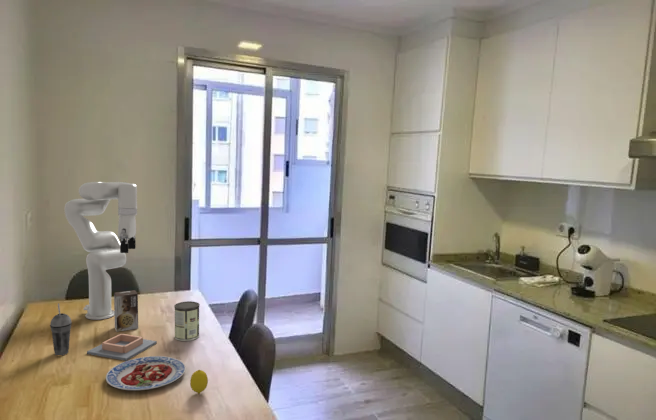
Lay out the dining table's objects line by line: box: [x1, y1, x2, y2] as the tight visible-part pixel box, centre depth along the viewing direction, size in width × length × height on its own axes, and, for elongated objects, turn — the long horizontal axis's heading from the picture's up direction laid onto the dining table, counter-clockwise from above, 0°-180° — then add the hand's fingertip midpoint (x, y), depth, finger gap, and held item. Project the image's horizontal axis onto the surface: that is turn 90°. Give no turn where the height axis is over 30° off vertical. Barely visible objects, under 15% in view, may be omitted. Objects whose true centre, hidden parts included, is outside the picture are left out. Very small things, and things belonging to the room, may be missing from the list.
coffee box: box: [113, 289, 139, 333], centre depth 206 cm, size 9×6×16 cm
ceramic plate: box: [105, 355, 186, 391], centre depth 162 cm, size 26×26×3 cm
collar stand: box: [86, 333, 157, 362], centre depth 184 cm, size 18×18×4 cm
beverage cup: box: [49, 303, 73, 356], centre depth 177 cm, size 7×7×20 cm
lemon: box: [189, 369, 209, 394], centre depth 151 cm, size 6×6×8 cm
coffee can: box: [173, 300, 201, 342], centre depth 199 cm, size 10×10×14 cm
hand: (128, 250), depth 203 cm, fingers open, 9 cm apart
